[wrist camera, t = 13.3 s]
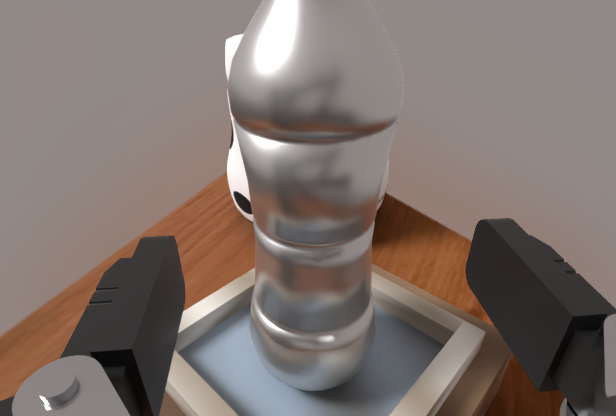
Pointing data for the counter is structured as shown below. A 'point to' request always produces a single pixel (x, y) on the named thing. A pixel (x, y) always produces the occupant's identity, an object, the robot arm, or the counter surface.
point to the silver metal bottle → (314, 179)
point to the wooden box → (362, 387)
